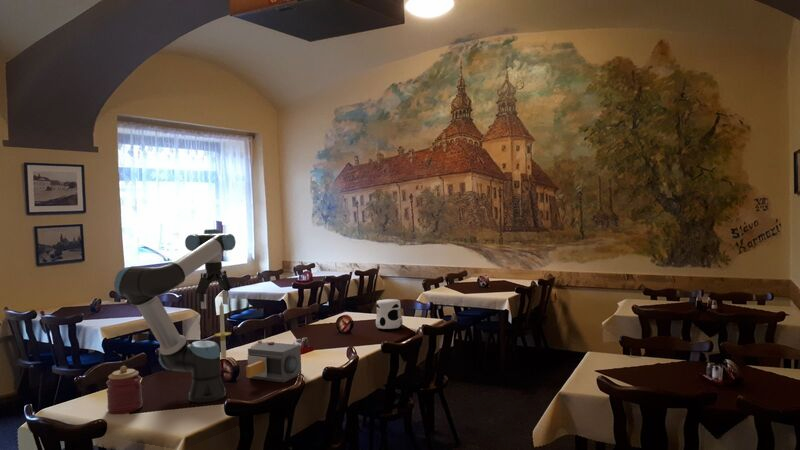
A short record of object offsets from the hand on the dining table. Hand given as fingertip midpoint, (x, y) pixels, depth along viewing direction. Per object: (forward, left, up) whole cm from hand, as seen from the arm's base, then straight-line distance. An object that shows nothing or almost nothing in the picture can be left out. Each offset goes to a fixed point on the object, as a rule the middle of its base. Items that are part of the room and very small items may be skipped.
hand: (214, 306), depth 271 cm
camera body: (+12, -24, -34) cm, 44 cm away
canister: (-46, +7, -35) cm, 58 cm away
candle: (+22, +17, -35) cm, 44 cm away
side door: (-2, -21, -32) cm, 38 cm away
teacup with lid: (+30, -2, -35) cm, 46 cm away
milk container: (+122, -30, -35) cm, 131 cm away
